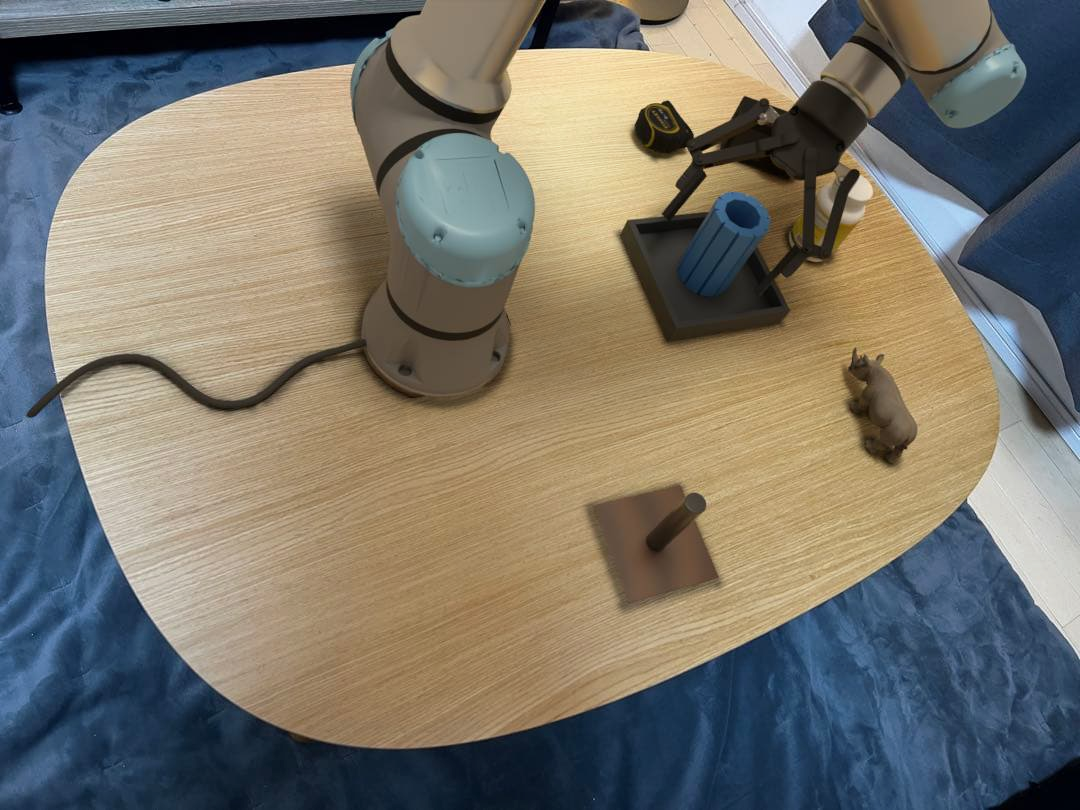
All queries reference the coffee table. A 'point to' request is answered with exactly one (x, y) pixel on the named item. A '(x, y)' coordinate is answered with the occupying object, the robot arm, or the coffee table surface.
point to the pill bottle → (823, 210)
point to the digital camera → (755, 138)
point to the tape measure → (662, 128)
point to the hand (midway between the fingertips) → (710, 255)
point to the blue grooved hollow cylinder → (723, 243)
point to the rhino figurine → (883, 406)
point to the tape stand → (656, 542)
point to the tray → (688, 313)
